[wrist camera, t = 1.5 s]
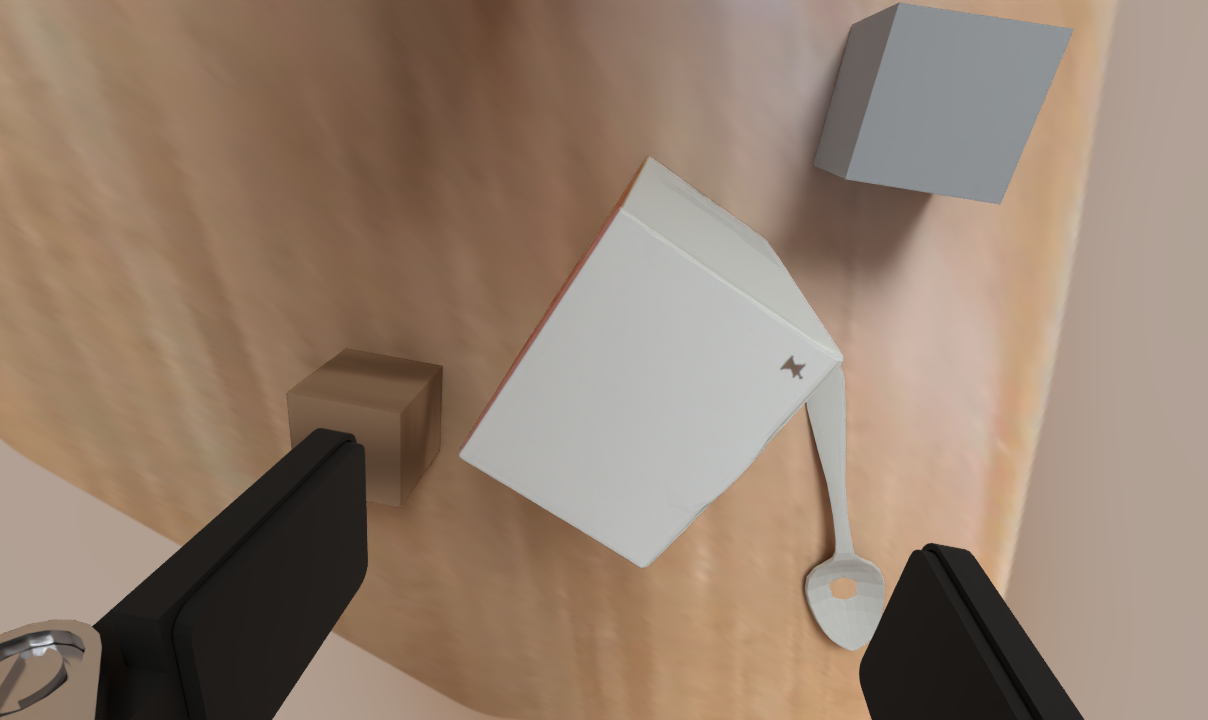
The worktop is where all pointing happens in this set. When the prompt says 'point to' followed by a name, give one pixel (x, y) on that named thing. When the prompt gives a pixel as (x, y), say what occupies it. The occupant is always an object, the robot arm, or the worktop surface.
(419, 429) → the walnut block
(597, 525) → the small box
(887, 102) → the slate block
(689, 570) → the worktop surface
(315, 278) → the worktop surface
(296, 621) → the robot arm
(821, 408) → the spoon
